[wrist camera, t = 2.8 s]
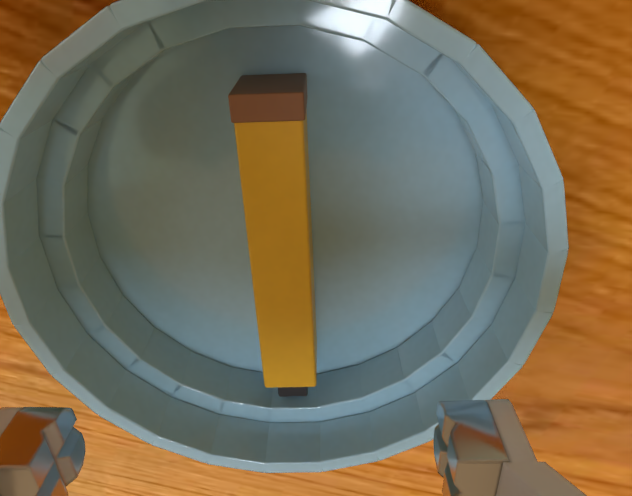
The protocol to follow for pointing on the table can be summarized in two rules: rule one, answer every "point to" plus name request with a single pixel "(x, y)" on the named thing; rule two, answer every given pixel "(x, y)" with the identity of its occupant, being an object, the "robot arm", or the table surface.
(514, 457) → the robot arm
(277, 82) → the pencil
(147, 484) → the table surface
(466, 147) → the blue bowl
